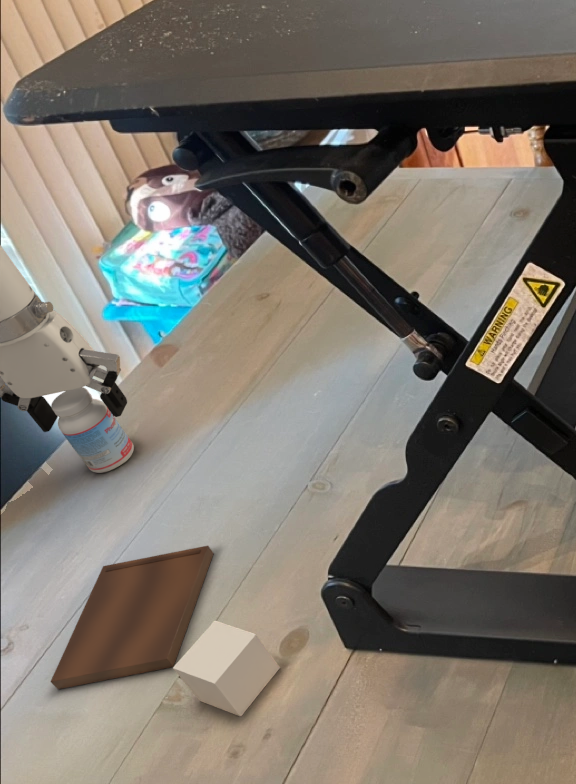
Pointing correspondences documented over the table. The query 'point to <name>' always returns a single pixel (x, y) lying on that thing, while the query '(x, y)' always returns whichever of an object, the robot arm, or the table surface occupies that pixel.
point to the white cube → (227, 668)
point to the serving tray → (134, 618)
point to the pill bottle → (92, 430)
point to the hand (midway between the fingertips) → (86, 417)
